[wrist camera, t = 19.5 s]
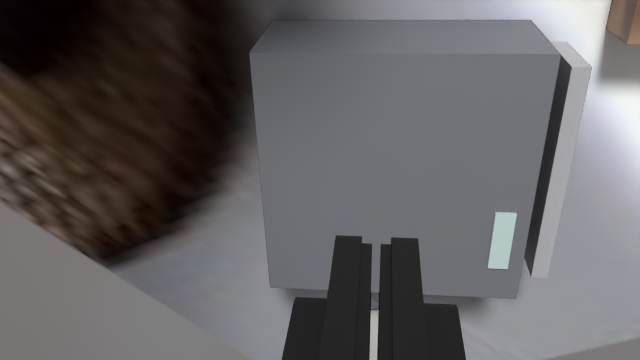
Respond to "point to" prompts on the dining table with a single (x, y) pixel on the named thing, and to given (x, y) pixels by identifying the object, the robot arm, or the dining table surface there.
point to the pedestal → (625, 20)
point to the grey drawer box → (402, 145)
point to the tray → (556, 158)
